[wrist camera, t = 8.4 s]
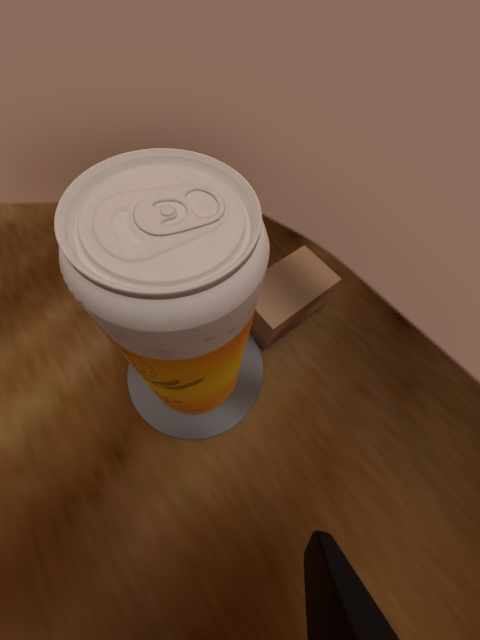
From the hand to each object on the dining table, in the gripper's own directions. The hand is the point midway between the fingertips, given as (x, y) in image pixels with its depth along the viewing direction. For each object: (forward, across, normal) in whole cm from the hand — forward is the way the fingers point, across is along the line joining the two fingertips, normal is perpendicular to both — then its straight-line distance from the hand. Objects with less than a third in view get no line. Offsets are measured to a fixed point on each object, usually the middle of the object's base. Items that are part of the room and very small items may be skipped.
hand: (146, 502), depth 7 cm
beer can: (+13, +1, +3) cm, 13 cm away
